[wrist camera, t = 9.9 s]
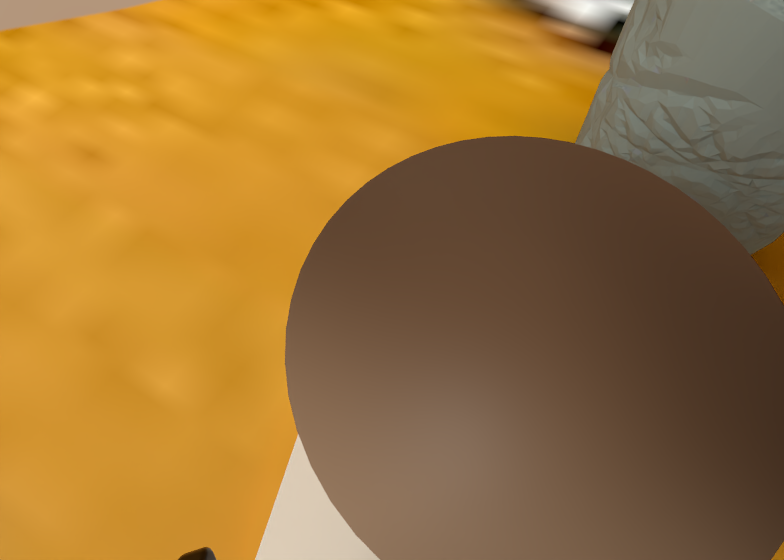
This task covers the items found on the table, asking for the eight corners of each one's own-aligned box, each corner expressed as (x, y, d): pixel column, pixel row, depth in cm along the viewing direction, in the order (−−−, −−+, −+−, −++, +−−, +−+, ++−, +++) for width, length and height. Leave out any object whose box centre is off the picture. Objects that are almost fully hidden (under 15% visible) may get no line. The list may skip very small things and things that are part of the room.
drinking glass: (699, 107, 26) (930, -197, 15) (816, 279, 21) (1264, 24, 10) (513, 139, 24) (618, -168, 14) (597, 328, 20) (850, 96, 9)
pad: (535, 669, 15) (544, 678, 14) (254, 579, 16) (247, 582, 15) (567, 384, 19) (576, 377, 18) (340, 325, 20) (339, 315, 19)
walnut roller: (489, 580, 15) (852, 741, 4) (332, 532, 16) (195, 534, 4) (514, 418, 17) (788, 189, 6) (376, 380, 18) (369, 99, 6)
